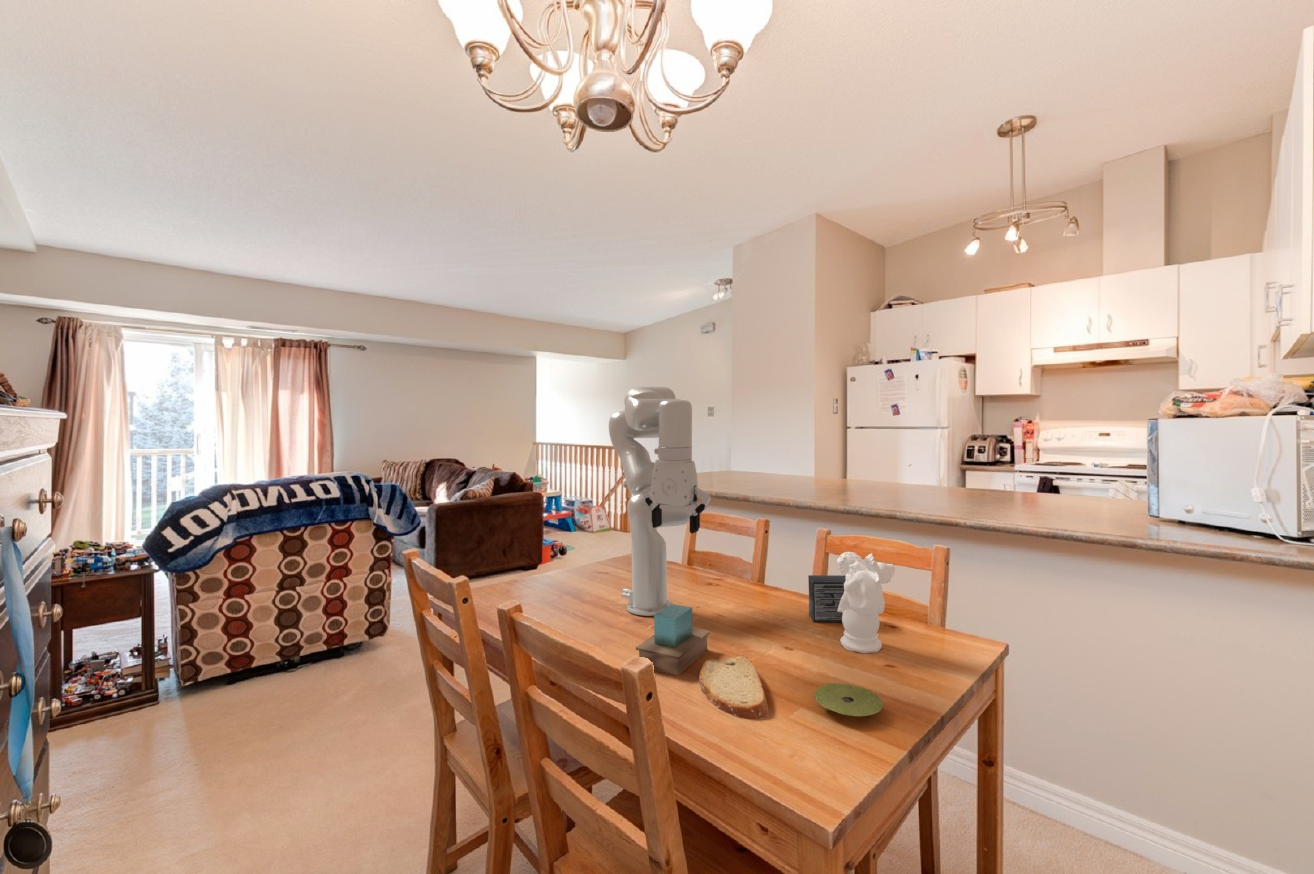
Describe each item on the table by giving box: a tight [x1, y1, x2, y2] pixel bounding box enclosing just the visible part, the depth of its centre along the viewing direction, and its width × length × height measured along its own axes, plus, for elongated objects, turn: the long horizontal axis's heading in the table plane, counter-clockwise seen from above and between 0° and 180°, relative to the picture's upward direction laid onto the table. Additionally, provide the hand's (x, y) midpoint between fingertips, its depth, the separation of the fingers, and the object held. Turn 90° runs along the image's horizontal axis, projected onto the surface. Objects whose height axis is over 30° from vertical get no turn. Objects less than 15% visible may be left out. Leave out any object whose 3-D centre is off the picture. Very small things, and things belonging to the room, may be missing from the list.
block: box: [653, 603, 694, 648], centre depth 115 cm, size 5×8×6 cm, turn 150°
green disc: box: [814, 682, 884, 717], centre depth 93 cm, size 11×11×2 cm
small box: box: [807, 574, 846, 624], centre depth 137 cm, size 11×6×10 cm, turn 84°
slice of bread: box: [698, 655, 769, 720], centre depth 102 cm, size 18×18×4 cm
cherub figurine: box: [836, 551, 896, 654], centre depth 120 cm, size 12×12×22 cm
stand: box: [635, 627, 711, 676], centre depth 115 cm, size 10×15×4 cm, turn 150°
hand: (675, 529), depth 122 cm, fingers open, 9 cm apart
